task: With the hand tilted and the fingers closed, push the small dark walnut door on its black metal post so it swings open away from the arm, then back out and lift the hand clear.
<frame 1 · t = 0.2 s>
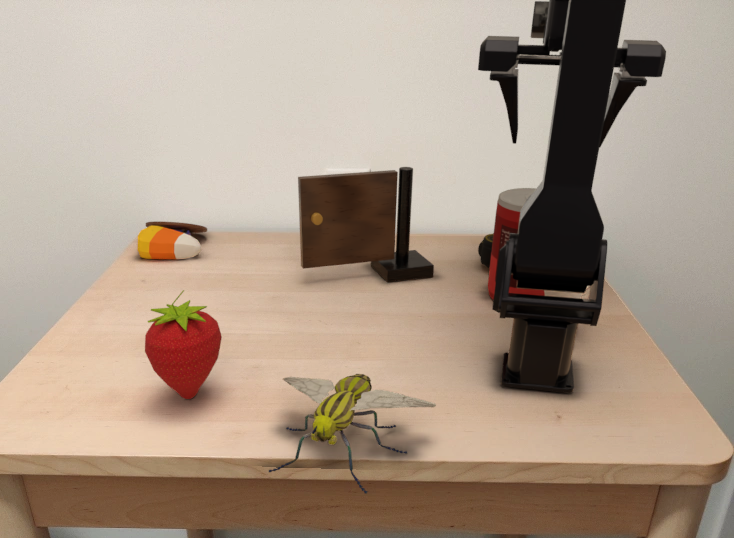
hand: (555, 144, 84), 15 cm above the table, tool pointing down, fingers open, 9 cm apart
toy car: (176, 224, 101), point 2 cm above the table
insect: (342, 447, 60), on the table
candy corn: (140, 240, 96), point 2 cm above the table
strawberry: (191, 399, 66), on the table
light bulb: (555, 332, 79), on the table
tape measure: (505, 267, 95), on the table
door post: (401, 271, 93), on the table
canned food: (519, 298, 87), on the table
door: (349, 220, 87), point 7 cm above the table, hinge at 0.0°
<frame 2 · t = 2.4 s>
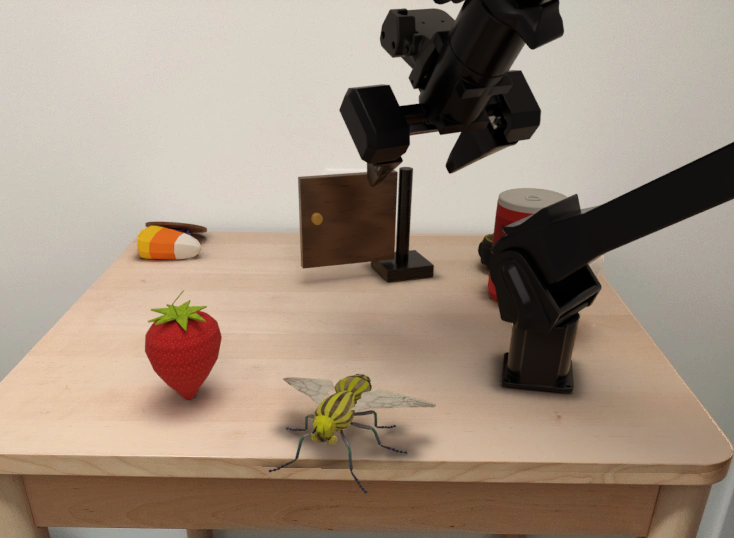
hand: (410, 176, 75), 14 cm above the table, tool tilted 40°, fingers open, 9 cm apart
nothing on the table moved.
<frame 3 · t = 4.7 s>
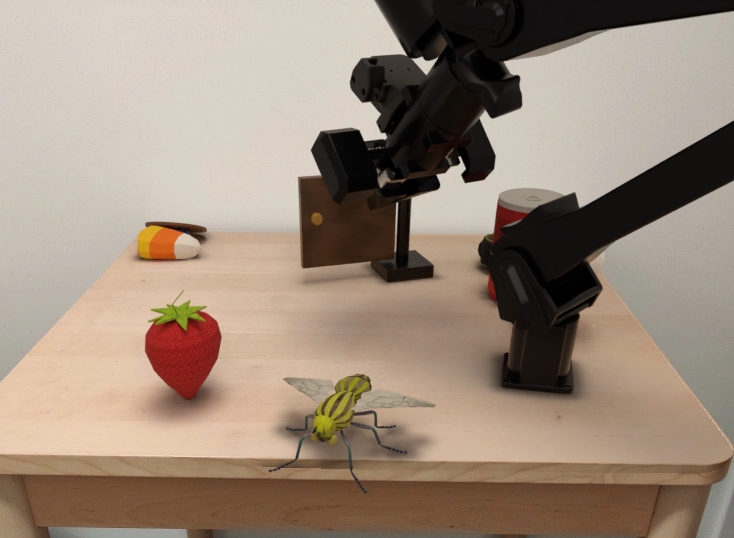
hand: (371, 205, 79), 10 cm above the table, tool tilted 45°, fingers closed
nothing on the table moved.
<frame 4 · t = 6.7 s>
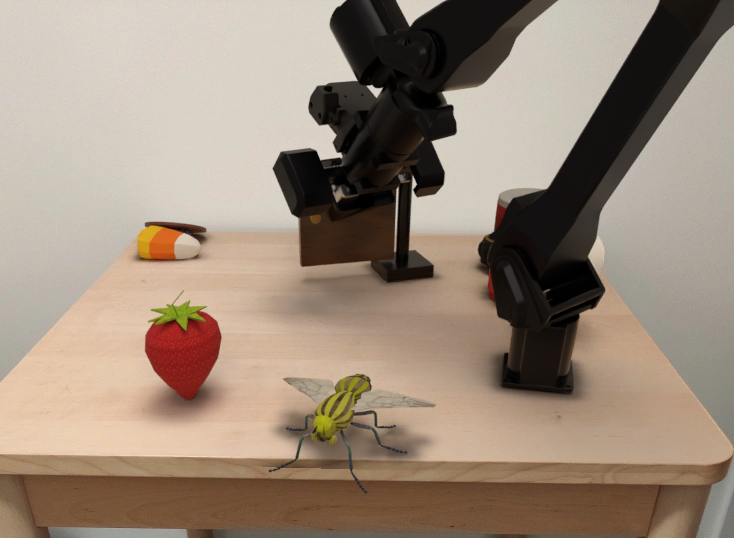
hand: (333, 217, 86), 7 cm above the table, tool tilted 45°, fingers closed
door: (348, 220, 87), point 7 cm above the table, hinge at 3.0°, touching gripper
everything else where it was.
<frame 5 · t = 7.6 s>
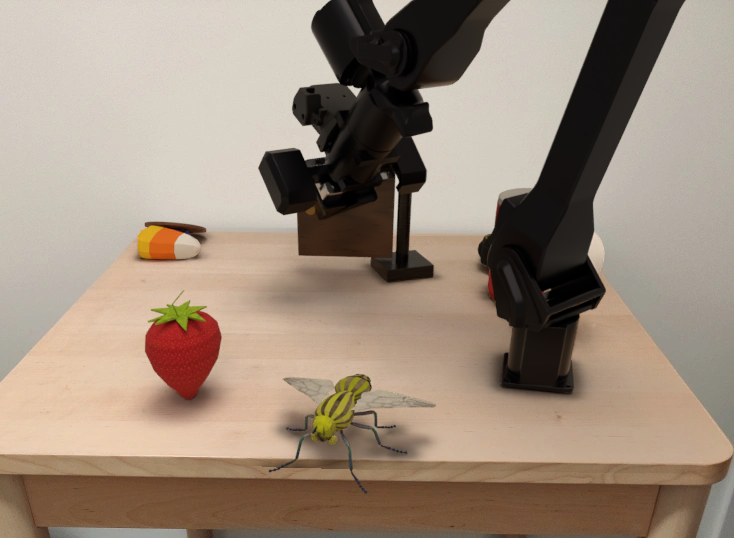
hand: (319, 216, 88), 7 cm above the table, tool tilted 45°, fingers closed
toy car: (175, 224, 101), point 2 cm above the table, touching candy corn
candy corn: (140, 240, 96), point 2 cm above the table, touching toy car
door: (345, 214, 89), point 7 cm above the table, hinge at 21.5°, touching gripper
everything else where it was.
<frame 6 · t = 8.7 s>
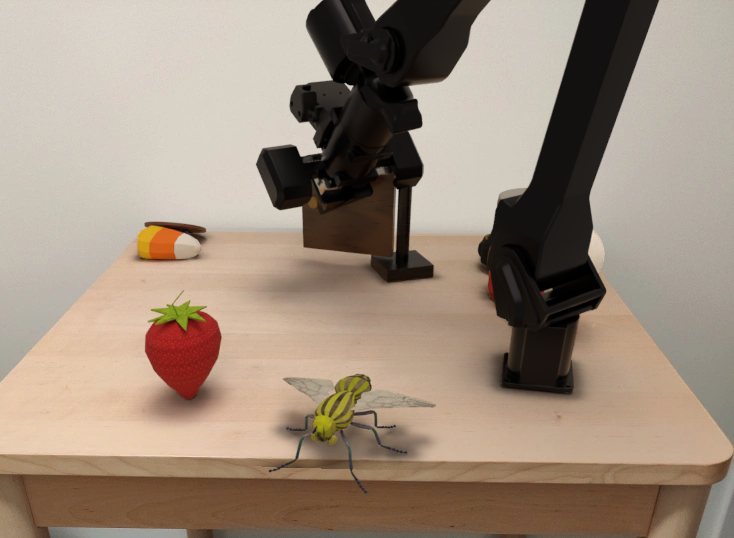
hand: (320, 210, 90), 7 cm above the table, tool tilted 45°, fingers closed
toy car: (175, 224, 101), point 2 cm above the table
candy corn: (140, 240, 96), point 2 cm above the table
door: (347, 210, 90), point 7 cm above the table, hinge at 35.5°, touching gripper
everything else where it was.
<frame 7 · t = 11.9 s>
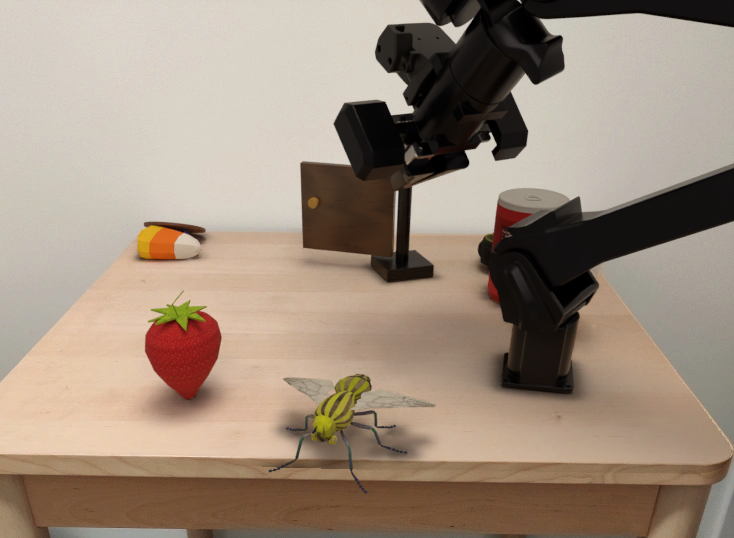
hand: (395, 186, 75), 13 cm above the table, tool tilted 45°, fingers closed
door: (346, 210, 90), point 7 cm above the table, hinge at 34.7°
everything else where it was.
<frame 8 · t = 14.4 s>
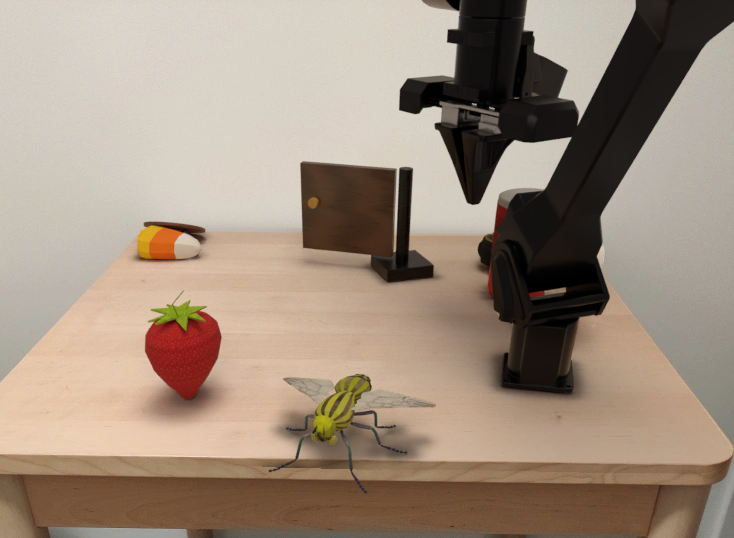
hand: (473, 203, 74), 12 cm above the table, tool pointing down, fingers closed
nothing on the table moved.
at the end: door at +35° (first picture: +0°); strawberry moved 0.2 cm from its start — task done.
